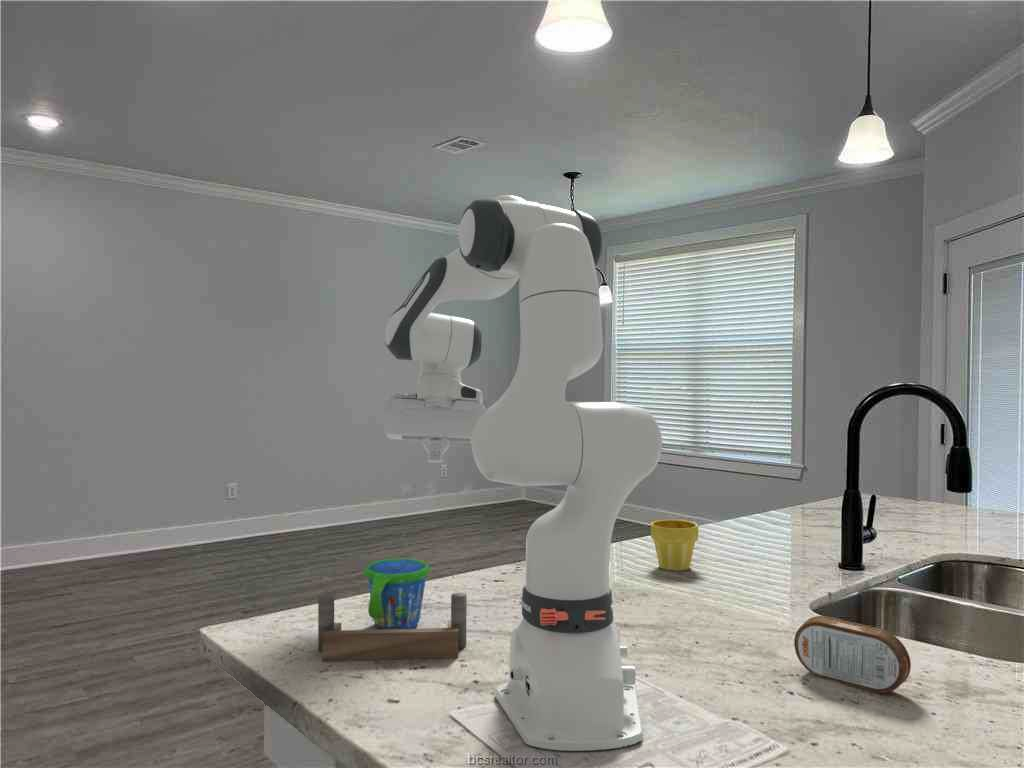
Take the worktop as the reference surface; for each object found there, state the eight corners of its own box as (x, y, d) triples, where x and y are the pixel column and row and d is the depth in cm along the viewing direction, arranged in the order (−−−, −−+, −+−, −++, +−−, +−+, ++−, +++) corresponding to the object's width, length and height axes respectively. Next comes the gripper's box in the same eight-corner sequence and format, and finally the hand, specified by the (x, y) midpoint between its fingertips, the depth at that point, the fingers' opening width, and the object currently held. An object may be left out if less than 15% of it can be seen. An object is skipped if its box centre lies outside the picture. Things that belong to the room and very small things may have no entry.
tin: (911, 695, 103) (912, 633, 102) (904, 702, 100) (905, 638, 100) (799, 666, 113) (800, 609, 112) (791, 672, 110) (791, 614, 110)
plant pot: (646, 571, 166) (647, 526, 166) (653, 560, 176) (654, 517, 176) (695, 575, 163) (696, 529, 163) (699, 564, 173) (700, 520, 173)
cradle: (467, 657, 115) (467, 604, 115) (312, 661, 113) (313, 607, 113) (465, 635, 125) (465, 586, 125) (322, 638, 123) (323, 588, 122)
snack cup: (397, 645, 120) (398, 580, 120) (342, 635, 124) (343, 572, 124) (446, 616, 134) (447, 558, 134) (395, 608, 139) (396, 552, 138)
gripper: (385, 386, 150) (379, 454, 144) (489, 391, 151) (487, 458, 146) (387, 399, 155) (381, 464, 150) (488, 403, 157) (486, 468, 151)
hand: (435, 461), depth 148 cm, fingers closed
